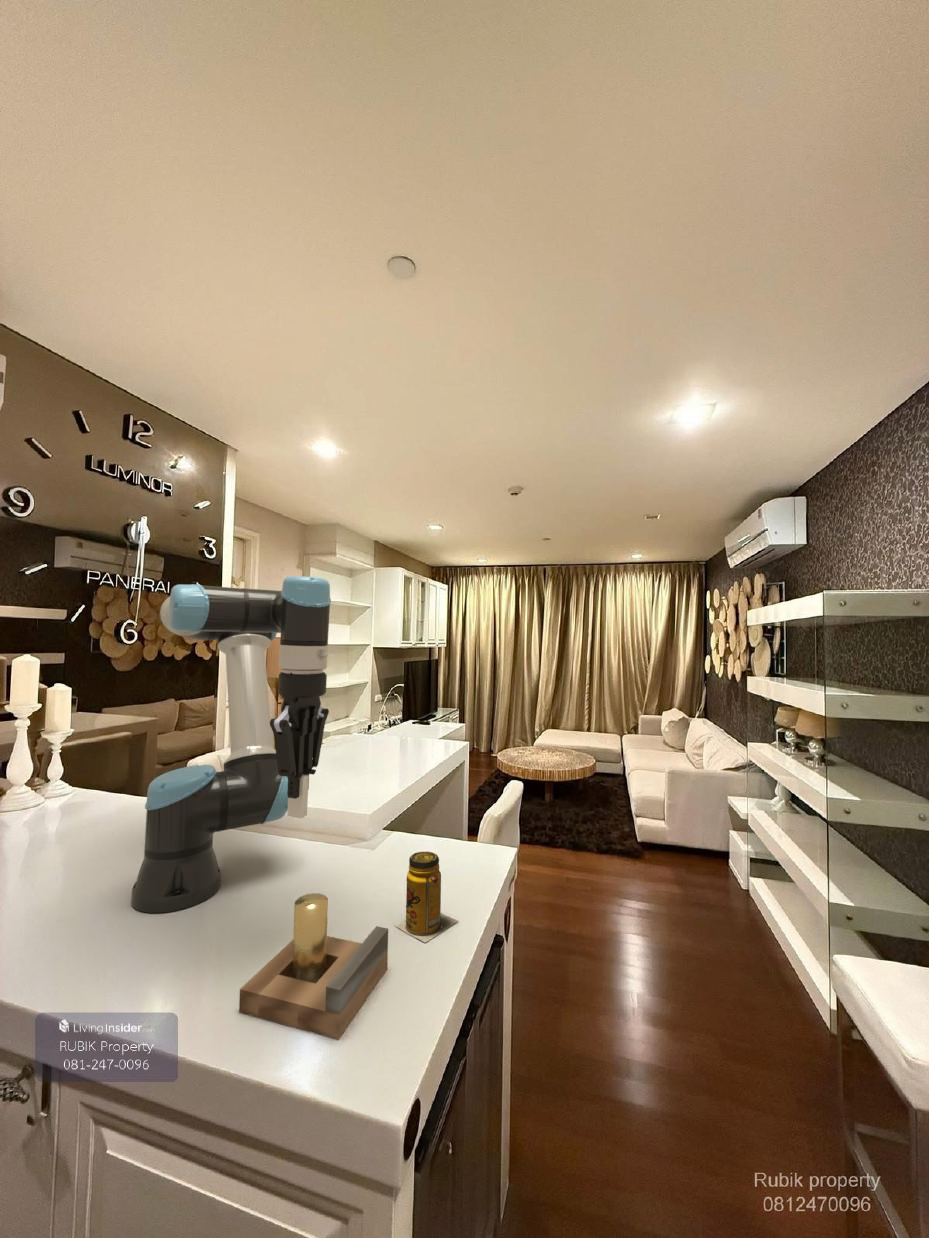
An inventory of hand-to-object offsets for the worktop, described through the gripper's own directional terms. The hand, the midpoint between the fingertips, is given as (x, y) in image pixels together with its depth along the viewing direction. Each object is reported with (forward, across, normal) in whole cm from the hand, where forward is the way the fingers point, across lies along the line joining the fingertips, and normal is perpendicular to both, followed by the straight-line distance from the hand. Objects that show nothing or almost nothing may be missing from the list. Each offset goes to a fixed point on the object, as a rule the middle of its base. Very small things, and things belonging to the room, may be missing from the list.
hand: (297, 815), depth 81 cm
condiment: (+21, +12, -19) cm, 31 cm away
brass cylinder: (+21, -8, -8) cm, 24 cm away
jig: (+21, -8, -10) cm, 24 cm away
